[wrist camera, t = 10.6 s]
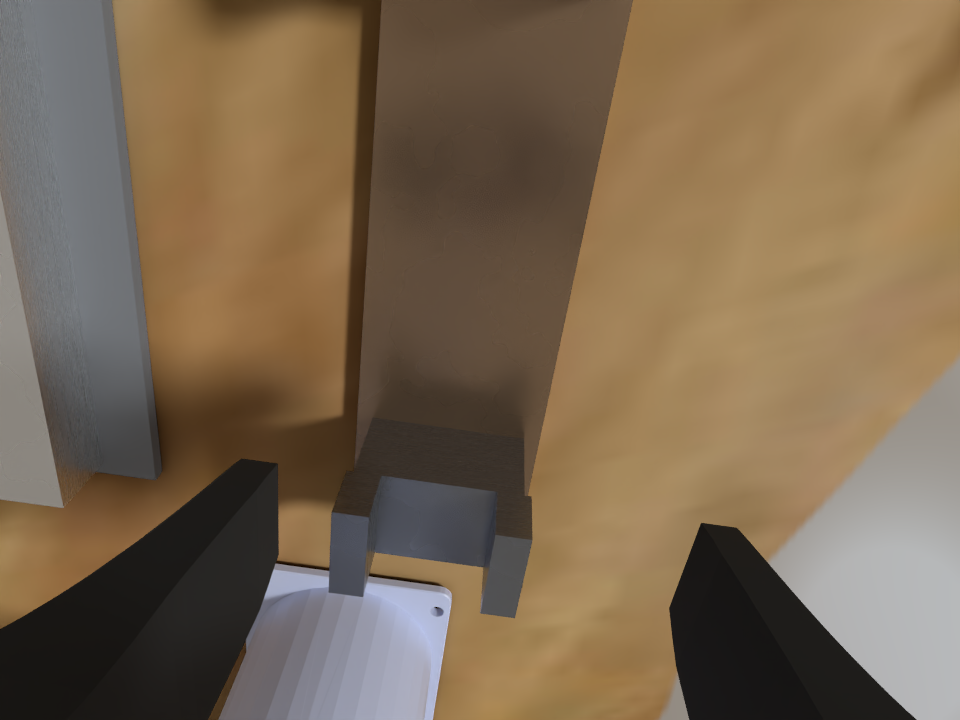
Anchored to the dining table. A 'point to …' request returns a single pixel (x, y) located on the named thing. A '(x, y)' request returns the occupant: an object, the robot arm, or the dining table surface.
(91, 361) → the mat
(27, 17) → the rail
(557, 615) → the dining table surface
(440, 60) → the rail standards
